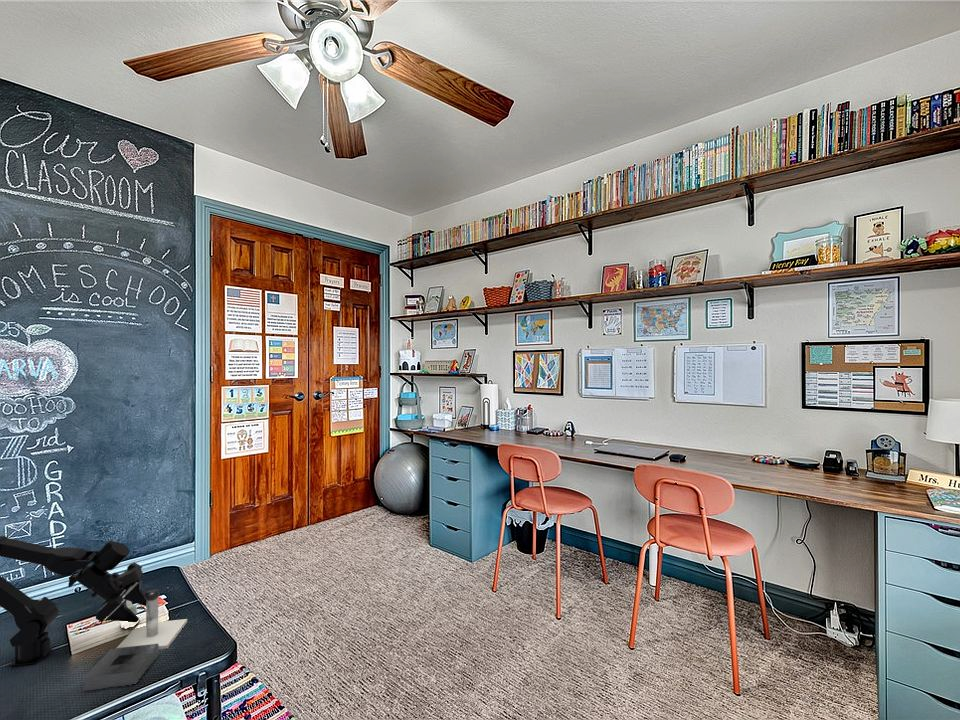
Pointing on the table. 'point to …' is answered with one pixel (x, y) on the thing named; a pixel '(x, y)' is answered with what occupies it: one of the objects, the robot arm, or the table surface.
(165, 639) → the pad
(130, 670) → the grey square frame block
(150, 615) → the black knobbed metal rod
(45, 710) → the table surface
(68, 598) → the table surface
